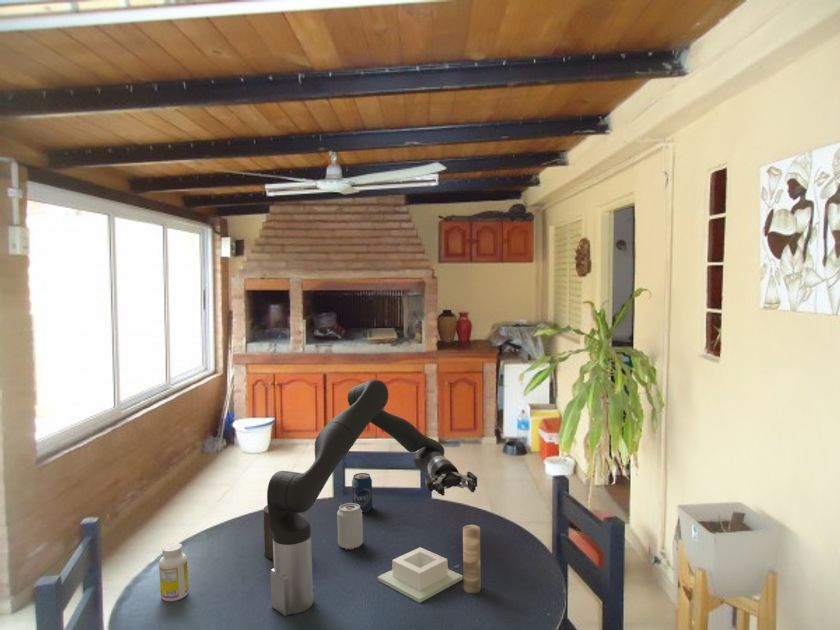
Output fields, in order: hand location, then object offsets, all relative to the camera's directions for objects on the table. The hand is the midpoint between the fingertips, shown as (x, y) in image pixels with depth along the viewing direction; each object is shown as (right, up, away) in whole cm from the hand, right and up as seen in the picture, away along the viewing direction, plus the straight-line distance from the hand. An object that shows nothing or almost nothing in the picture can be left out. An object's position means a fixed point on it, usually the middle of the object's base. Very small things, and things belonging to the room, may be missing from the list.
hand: (458, 490), depth 164 cm
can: (-31, -22, +17) cm, 42 cm away
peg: (+3, -23, -9) cm, 25 cm away
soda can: (-30, -20, +45) cm, 58 cm away
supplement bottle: (-73, -24, -10) cm, 78 cm away
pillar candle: (-51, -22, +13) cm, 57 cm away
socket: (-10, -22, -4) cm, 25 cm away
